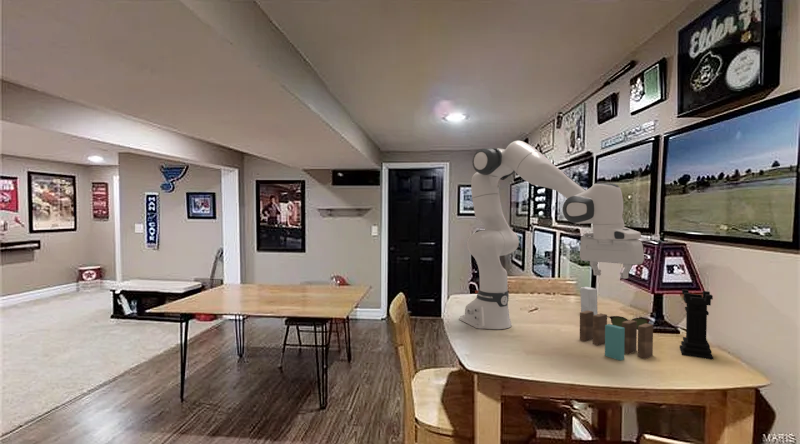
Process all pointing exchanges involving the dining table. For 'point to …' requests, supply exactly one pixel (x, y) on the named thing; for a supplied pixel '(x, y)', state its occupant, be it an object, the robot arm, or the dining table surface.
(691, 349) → the chess piece
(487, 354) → the dining table surface
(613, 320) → the sunglasses
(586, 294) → the skincare box
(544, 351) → the dining table surface
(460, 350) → the dining table surface
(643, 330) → the domino
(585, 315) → the domino
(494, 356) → the dining table surface
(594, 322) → the domino
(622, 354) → the domino
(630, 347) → the domino
